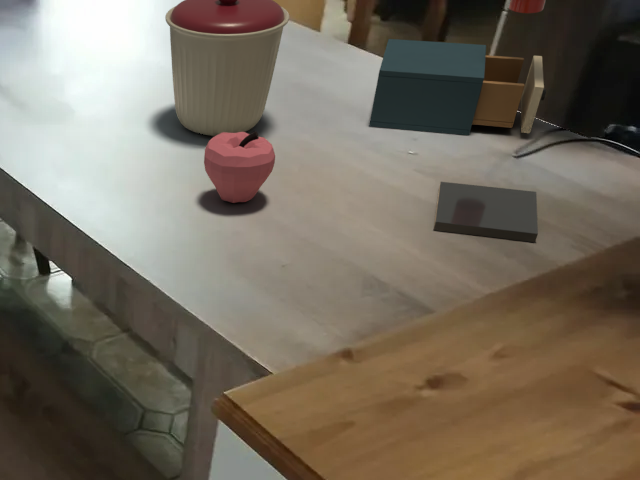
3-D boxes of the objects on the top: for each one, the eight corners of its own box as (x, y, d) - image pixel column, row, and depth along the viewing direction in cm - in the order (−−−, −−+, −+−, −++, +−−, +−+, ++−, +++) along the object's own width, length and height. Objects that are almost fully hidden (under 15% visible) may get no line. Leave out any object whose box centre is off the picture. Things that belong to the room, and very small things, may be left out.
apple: (259, 182, 132) (267, 112, 125) (278, 210, 125) (288, 138, 118) (193, 189, 131) (198, 119, 124) (209, 217, 125) (215, 145, 118)
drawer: (537, 100, 146) (550, 56, 142) (538, 134, 137) (553, 87, 132) (438, 93, 150) (448, 49, 146) (433, 124, 141) (444, 79, 137)
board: (533, 200, 124) (536, 191, 123) (535, 242, 115) (538, 233, 115) (438, 189, 127) (440, 181, 126) (433, 230, 119) (435, 221, 118)
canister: (300, 124, 146) (320, -21, 132) (218, 158, 138) (231, 8, 124) (217, 94, 157) (228, -43, 143) (137, 123, 149) (141, -18, 135)
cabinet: (472, 100, 150) (486, 44, 144) (469, 135, 140) (484, 77, 134) (378, 92, 154) (388, 38, 149) (368, 126, 144) (379, 70, 138)
